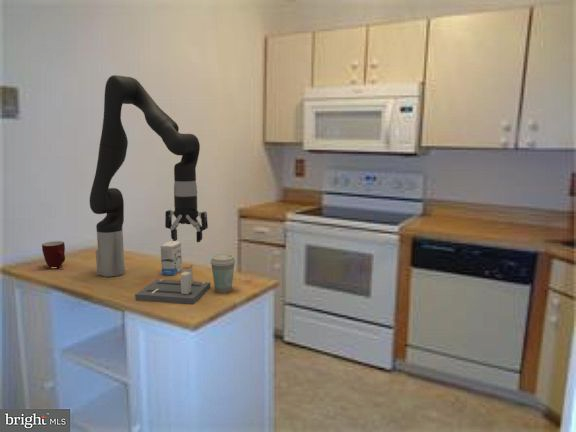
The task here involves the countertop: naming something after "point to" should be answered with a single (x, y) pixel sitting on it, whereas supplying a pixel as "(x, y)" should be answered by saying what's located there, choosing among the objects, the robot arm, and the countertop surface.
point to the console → (172, 292)
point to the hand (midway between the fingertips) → (186, 241)
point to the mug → (54, 253)
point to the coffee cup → (223, 272)
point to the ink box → (171, 258)
